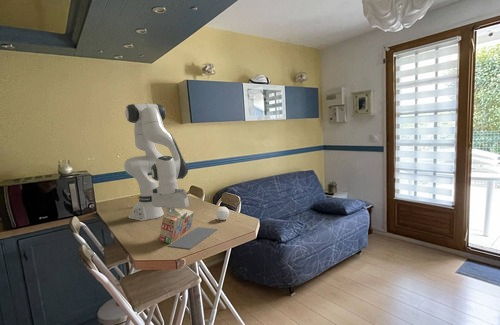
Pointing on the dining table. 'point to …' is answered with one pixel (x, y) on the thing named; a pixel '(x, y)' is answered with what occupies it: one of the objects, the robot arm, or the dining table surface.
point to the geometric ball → (222, 213)
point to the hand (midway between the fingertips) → (171, 215)
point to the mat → (193, 238)
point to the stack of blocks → (175, 224)
